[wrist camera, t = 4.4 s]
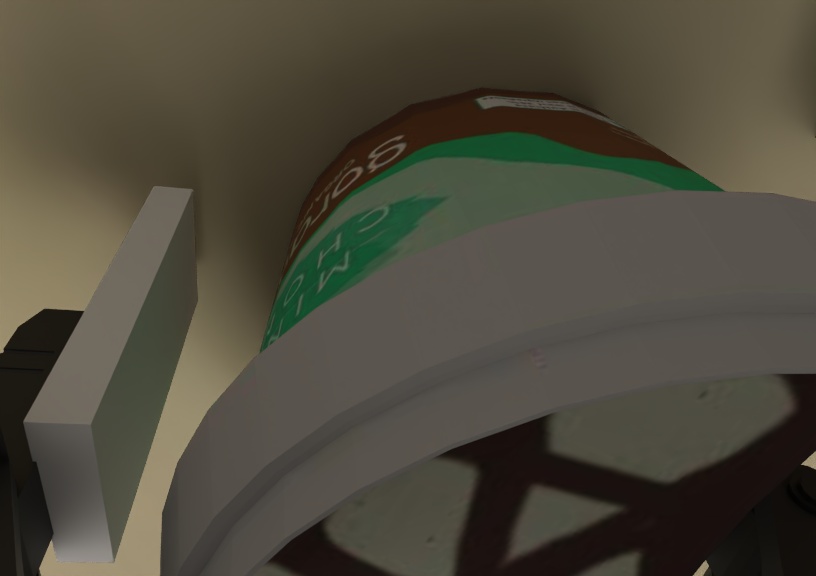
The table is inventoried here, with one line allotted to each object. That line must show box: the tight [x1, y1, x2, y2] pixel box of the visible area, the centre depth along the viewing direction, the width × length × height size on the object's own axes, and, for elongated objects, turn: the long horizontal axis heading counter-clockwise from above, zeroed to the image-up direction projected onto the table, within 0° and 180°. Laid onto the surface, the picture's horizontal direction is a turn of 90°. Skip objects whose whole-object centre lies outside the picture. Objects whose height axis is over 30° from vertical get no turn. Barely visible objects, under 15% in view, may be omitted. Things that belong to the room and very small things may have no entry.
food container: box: [160, 88, 816, 576], centre depth 11 cm, size 12×6×10 cm, turn 153°
